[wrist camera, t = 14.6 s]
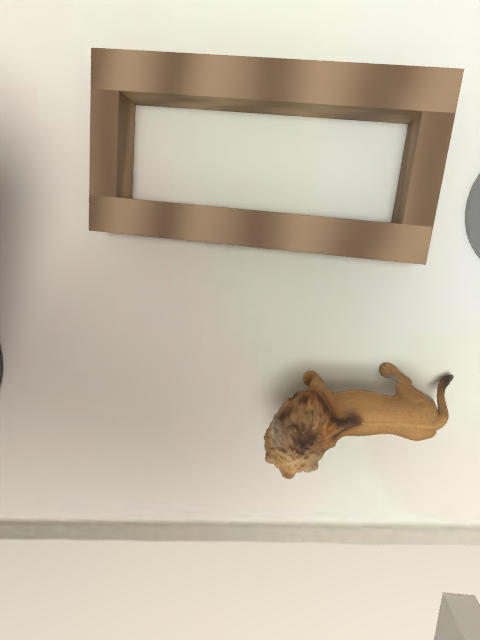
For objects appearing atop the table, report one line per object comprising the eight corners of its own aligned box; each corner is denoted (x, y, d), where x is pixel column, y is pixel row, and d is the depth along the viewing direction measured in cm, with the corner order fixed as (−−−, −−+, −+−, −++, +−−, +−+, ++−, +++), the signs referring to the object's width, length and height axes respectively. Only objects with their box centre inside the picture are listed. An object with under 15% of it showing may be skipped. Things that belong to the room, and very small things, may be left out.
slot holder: (106, 230, 32) (88, 230, 29) (110, 66, 30) (91, 47, 27) (412, 261, 30) (425, 264, 27) (445, 86, 27) (463, 68, 24)
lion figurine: (276, 435, 34) (272, 504, 26) (260, 378, 33) (251, 428, 25) (455, 402, 32) (518, 465, 23) (444, 339, 31) (505, 380, 22)
